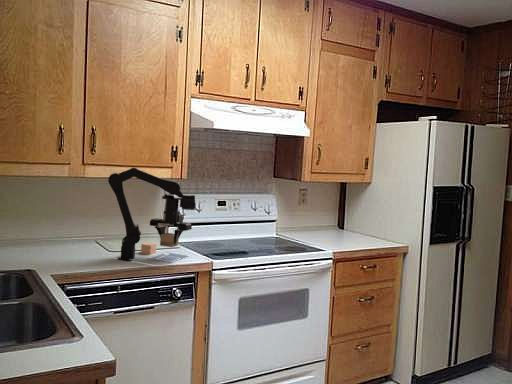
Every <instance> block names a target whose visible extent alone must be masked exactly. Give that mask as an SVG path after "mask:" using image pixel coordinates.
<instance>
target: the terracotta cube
mask: <svg viewBox="0 0 512 384" xmlns="http://www.w3.org/2000/svg"><path fill="white" fill-rule="evenodd" d="M156 253H157V243H152V242H144V243H141V245H140V254H142V255H149V256H151V255H154V254H156Z"/></svg>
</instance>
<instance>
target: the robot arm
mask: <svg viewBox="0 0 512 384" xmlns="http://www.w3.org/2000/svg"><path fill="white" fill-rule="evenodd" d="M132 178H136V179H138V180H140V181H144V182H146V183H149V184H150V185H151V184H152V185H153V186H156V187H159V188H160V189H162V190H164V191H165V193H164V195H162V196H161V199H162V200H165V207H164V208H165V209H164V211H163V214H164V218H157V217H156V218H151V219H150V220H149V226H151V227H154V228H155V229H156V231H157V232H158V235H159V237H160V238H161V234H164V233H166V228H167V227H171V228H176V229H174V231H173V232H174V233H173V234H174V243H175V244H177V242H178V239H180V237H181V235H182V233H183V232H185V231H190V230H192V228H193V227H192V226H193V225H192V223H190V222H185V221H184V216H183V215H181V214H180V211H179V208H181V210H184V211H185V210H186V211H195V210H196V204H197V203H196V195H194V194H191V195H190V194H188V195H187V194H184V192H181V185H180V183H178V182H177V181H174V180H172V179H171V180H170V179H164V178H162V177H159V176H157V175H156V176H155V175H153V174H152V173H148V172H146V171H143V170H140V169H138V168H137V167H135V166H134V167H130V168H129V169H127V170H123V171H121V172H119V173H118V172H113V173H111V174H110V175H109V177H108V179H107V180H108V181H107V182H108V184H109V186H110V187H111V190H112V191H113V193H114V195H115V197H116V200H117V204H118V207H119V209H120V213H121V215H122V219H123V221H124V226H125V233H126V235H125V236H124V237H123V238H121V246H120V257H118V258H117V260H118V261H124V262H132V261H134V260H133V259H135V256H136V245H137V243H139V242H140V240H141V235H142V231H141V230H140V227H139V223H137V224H135V221H134V220H133V217H132V213H131V211H130V208H129V204H128V200H127V197H126V194H125V190H124V183H123V182H125V181H128V180H130V179H132ZM167 193H168V194H167ZM175 196H176V197H175ZM178 243H179V242H178Z"/></svg>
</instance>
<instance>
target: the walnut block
mask: <svg viewBox="0 0 512 384" xmlns="http://www.w3.org/2000/svg"><path fill="white" fill-rule="evenodd" d="M179 239H180V238H179ZM179 239H178V242H177V244H175V243H174V233H171V232H165V233H164V234H161V238H160V239H159V246H161V247H166V248H167V247H168V248H174V247H178V246H179Z"/></svg>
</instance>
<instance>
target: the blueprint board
mask: <svg viewBox="0 0 512 384" xmlns="http://www.w3.org/2000/svg"><path fill="white" fill-rule="evenodd" d="M189 257H190V255H186V254H185V255H184V254H180V253H173V252H164V253H161V254H157V255H155V256H152V257H150V258H147V259H146V260H149V261H154V262H159V263H165V264H173V263H176V262H179V261H181V260H183V259H185V258H189Z"/></svg>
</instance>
